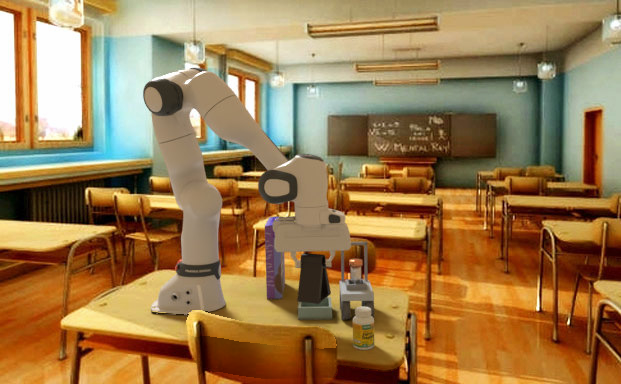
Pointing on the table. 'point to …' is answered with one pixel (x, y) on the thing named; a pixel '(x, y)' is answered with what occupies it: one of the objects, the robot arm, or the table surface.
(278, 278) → the cereal box
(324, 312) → the bin
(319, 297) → the phone stand
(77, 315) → the table surface
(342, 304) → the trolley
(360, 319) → the supplement bottle
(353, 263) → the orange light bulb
